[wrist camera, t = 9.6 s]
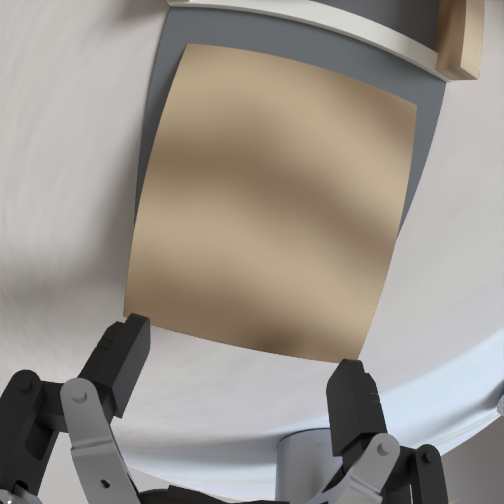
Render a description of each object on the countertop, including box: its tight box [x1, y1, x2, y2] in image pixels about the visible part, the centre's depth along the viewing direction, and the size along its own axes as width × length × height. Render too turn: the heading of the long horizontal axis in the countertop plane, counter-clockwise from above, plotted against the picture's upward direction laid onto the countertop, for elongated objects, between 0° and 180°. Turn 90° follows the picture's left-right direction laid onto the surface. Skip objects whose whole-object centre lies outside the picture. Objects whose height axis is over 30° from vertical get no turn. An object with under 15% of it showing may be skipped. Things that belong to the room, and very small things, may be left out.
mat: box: [134, 0, 452, 239], centre depth 12 cm, size 25×15×1 cm, turn 167°
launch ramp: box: [123, 43, 417, 363], centre depth 13 cm, size 14×12×6 cm
